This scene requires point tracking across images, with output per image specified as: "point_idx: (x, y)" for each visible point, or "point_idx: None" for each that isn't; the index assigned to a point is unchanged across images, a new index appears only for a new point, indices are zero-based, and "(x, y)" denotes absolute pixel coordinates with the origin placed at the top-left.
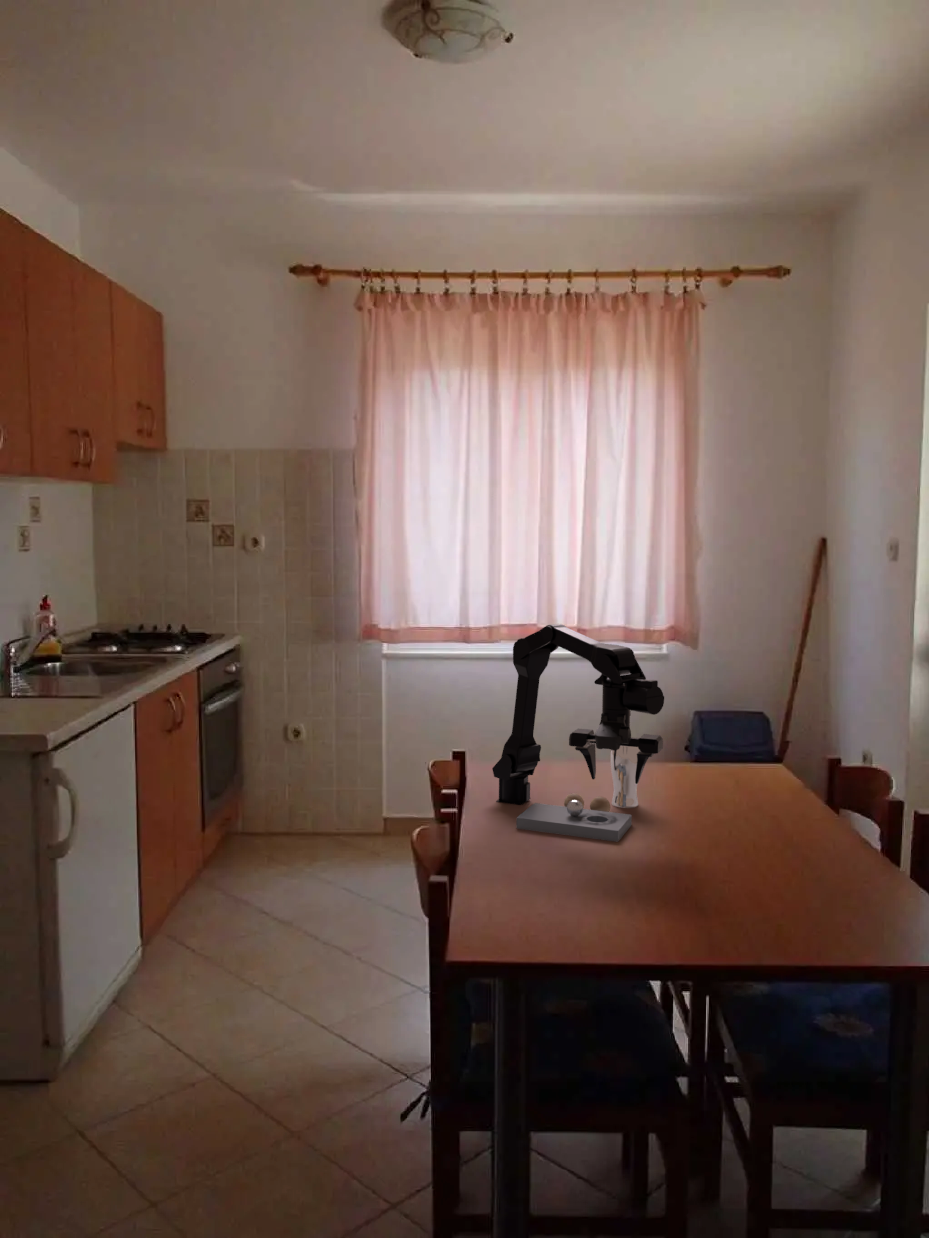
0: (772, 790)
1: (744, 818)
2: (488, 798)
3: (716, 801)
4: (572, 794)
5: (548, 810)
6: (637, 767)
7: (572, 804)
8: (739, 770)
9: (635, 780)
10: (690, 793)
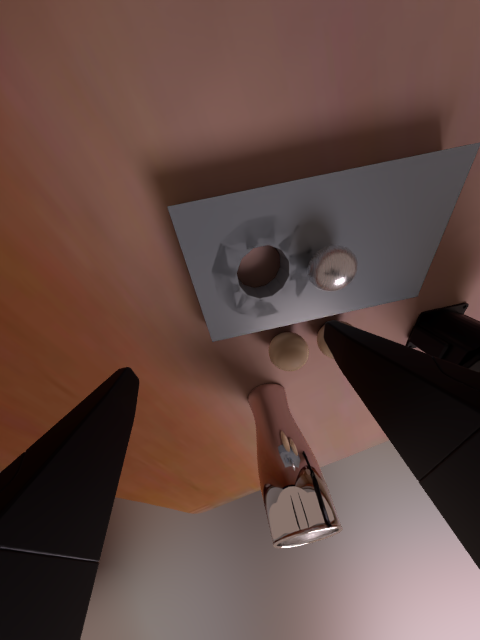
0: (152, 490)
1: None
2: (477, 312)
3: (175, 453)
4: None
5: (386, 265)
6: (39, 461)
7: (344, 255)
8: (210, 500)
9: (118, 376)
10: (215, 454)
